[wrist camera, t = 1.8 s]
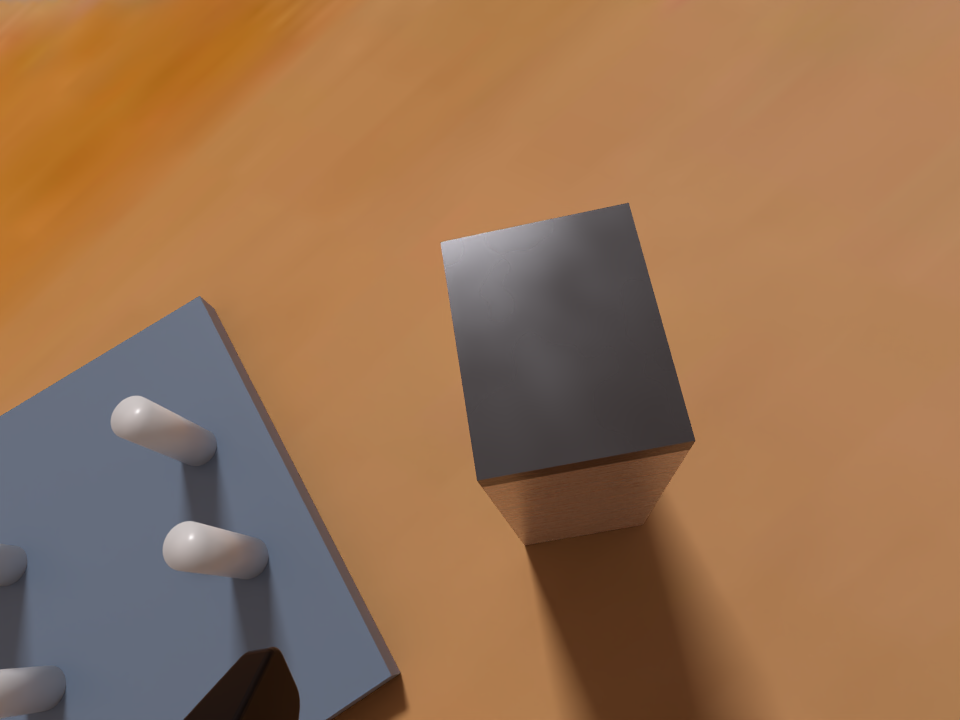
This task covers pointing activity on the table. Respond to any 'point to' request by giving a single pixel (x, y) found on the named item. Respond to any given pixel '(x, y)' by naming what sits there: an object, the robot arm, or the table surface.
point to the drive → (566, 374)
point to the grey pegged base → (165, 541)
